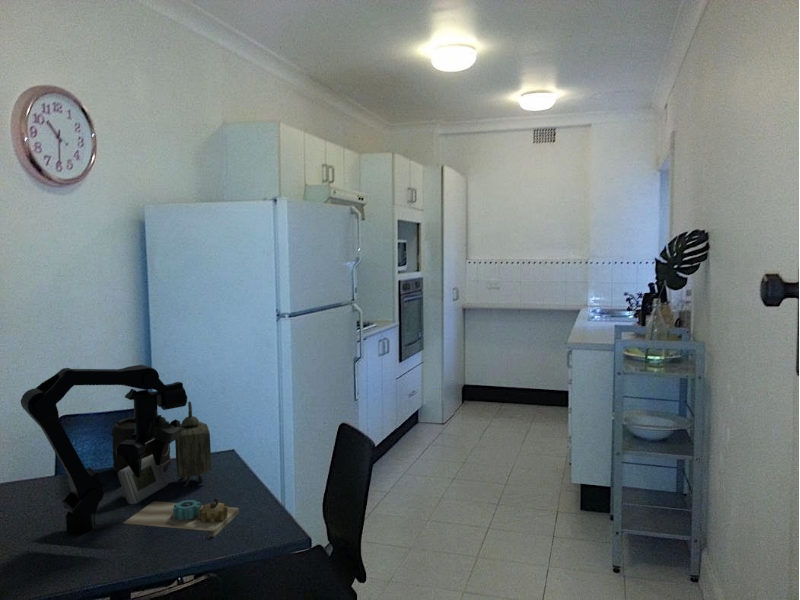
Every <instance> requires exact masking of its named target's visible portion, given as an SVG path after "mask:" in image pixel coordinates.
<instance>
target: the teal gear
mask: <svg viewBox="0 0 800 600" xmlns="http://www.w3.org/2000/svg"><path fill="white" fill-rule="evenodd" d="M177 503H178V504H175V505H174V508H173V517H174V518H178V519H179V520H188V519H193V518H195V517H196V516H199V509H200V508H201V505H202V503H201V502H200V501H197V500H195V499H186V500H181V501H179V502H177ZM184 504H190V506H188V507H184Z"/></svg>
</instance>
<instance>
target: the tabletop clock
mask: <svg viewBox="0 0 800 600" xmlns="http://www.w3.org/2000/svg"><path fill="white" fill-rule="evenodd" d="M187 405H188V416H185V418H184V419H183V420H182V421H181V423H180V425H181V432H180V433H179V434H178V436H177V440H175V441H174V443H175V444H174V445H175V446H174V447H175V464H176V472H177V476H178V478H179V479H180V478H181V479H185V478H186V481H185V484H184V485H183V487H188V485H189V482H190V480H191V479H192V477H195V476H198V478H197V481H198V482H199V483H202V482H203V481H204V478H203V476H201V475H206V474H207V473H209V472H211V471H212V456H211V455H212V452H211V450H212V449H211V447H212V446H211V434H210V429H209V426H208V424H207V423H205V422H202V421H200V420H199V419H198V417H196V416H194V415H193V405H192V402H191V401H187Z"/></svg>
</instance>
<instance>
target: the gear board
mask: <svg viewBox="0 0 800 600" xmlns="http://www.w3.org/2000/svg"><path fill="white" fill-rule="evenodd" d="M178 503H179V502H169V501H168V502H166V501H154V500H153V501H152V502H151V503H150V504H148V505H146V506H145V507H143V508H142V509H141V510H139V511H137V512H136V513H135V514H133V515H132V516H131V517H129V518H128V519H126V520H125V521H123V522H122V524H126V525H136V526H139V525H140V526H147V527H148V526H150V527H160V528H161V527H162V528H173V529H182V530H192V531H193V530H195V531H205V532H206V531H207V532H209V533H208V534H207V535H206V537H209V538H210V537H211V538H214V537H216V535H218V534H219V533H220V532H221V531H222V530H223V529H224V528H225V527H226V526H228V524H230V522H232V520H234V519H235V518H236V517H237V516H238V515H239V514H240V511H239V510H240V508H239V507H230V506H228V505H226V503H224V502H222V503H221V502H219V497H214V498H213V501H211V502H210V503H207V504H201V508H200V509H199V516H196V517H195V518H193V519H188V520H179V519H178V518H174V517H173V508H174V505H175V504H178ZM188 506H190V504H184V507H188Z"/></svg>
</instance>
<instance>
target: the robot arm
mask: <svg viewBox="0 0 800 600" xmlns="http://www.w3.org/2000/svg"><path fill="white" fill-rule="evenodd" d="M74 386H125V387H130V391H129V392H127V393H126V394H125V395H124V398H125V399H126V400H127V399H128V400H130V401H133V417H134V418H132V419H131V423H135V433H134V434H132V438H136V440H125V441H123V442H121V443H119V444H118V445H117V446H116V455H120V457H123V458H124V460H125V461H126V462H127V464H128V465H129V467H130V468H131V470H132V471H133V473H134V475H135V476H136V477H140V476H141V464H142V457H143V456H144V455H145V454H146V452H144V451H145V449H146V444H147V443H150V447H151V450H152V454H153V457H154V461H155V463H156V465H160V464H161V461H162V457H163V453H164V450H165V447H166V444H170V445H171V444H172V443H173V442H175V440H177V436H178V434H179V433H180V432H181V425H180V424H181V421H180V420H179V419H173V420H171V421H170V422H169V421H168V422H167V423H165V422H163V421H162V417H163V416H162V415H161V414H158V408H160V409H162V410H163V411H167V410H172V409H178V408H182V407H185V406H187V405H188V395H187V392H186V390H185V388H184V383H183V382H181V381H177V382H176V381H175V382H172V383H169V384H165V383H164V382H163V381H162V380H161V379H160V374H159V372H158V370H157V369H156V368H153V367H150V366H147V365H144V364H138V365H137V364H136V365H129V366H127V367H126V366H125V367H123V368H117V369H115V368H70V367H64V368H61V369H60V370H59V371H58V372H57V373H55V374H54V375H52V376H50V377H49V378H47V379H46V380H44V381H42V382H41V383H40V384H39V385H37V386H36V387H35V388H31V389H28V390H26V391H25V392H24V394H23V395H22V397H21V398H20V405H21V408H22V409H23V410H24V411H25V412H26V413H27V415H29V416H30V418H31V419H32V420H33V421H34V422H35V423H36V424H37V425H38V426H39V427H40V429H41V430H42V432H43V434H44V435H45V437H46V439H47V441H48V442H49V444H50V446H51V447H52V450H53V451H54V453H55V455H56V458H58V460H59V462H60V463H61V465H62V467H63V468H64V470H65V472H66V476H67V481H68V486H69V488H70V489H69V490H70V492H68V494H67V495H66V496H65V497H64V498H63V499H62V502H61V504H62V505H63V508H64V509H65V510H67V512H66V514H65V524H66V526H65V527H66V535H67V536H77V537H78V536H79V537H80V535H83V534H87V533H89V532H91V531H92V530H94V528H95V525H96V513H97V509H98V506H99V503H100V502H101V501H102V500H103V497H104V495H105V490H104V487H105V486H106V485H105V484H104V483H103V482H102V481H101V477H100V475H99V472H98V471H96V470H95V469H93V468H92V467H91V466H89V467H88V468H86V467H85V465H84V463H83V461H82V460H81V458H80V456H79V454H78V452H77V451H76V449H75V447H74V445H73V444H72V441H71V440H70V438H69V436H68V434H67V433H66V430H65V429H64V427H63V425H62V424H61V420H60V414H59V410H58V406H57V404H58V403H60V401H61V400H63V399H64V397H65V396H66V395H67V394H68V392H69V391H70V390H71V389H72V388H74ZM133 388H135V389H133ZM136 389H139V390H136ZM149 390H153V391H149Z"/></svg>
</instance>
